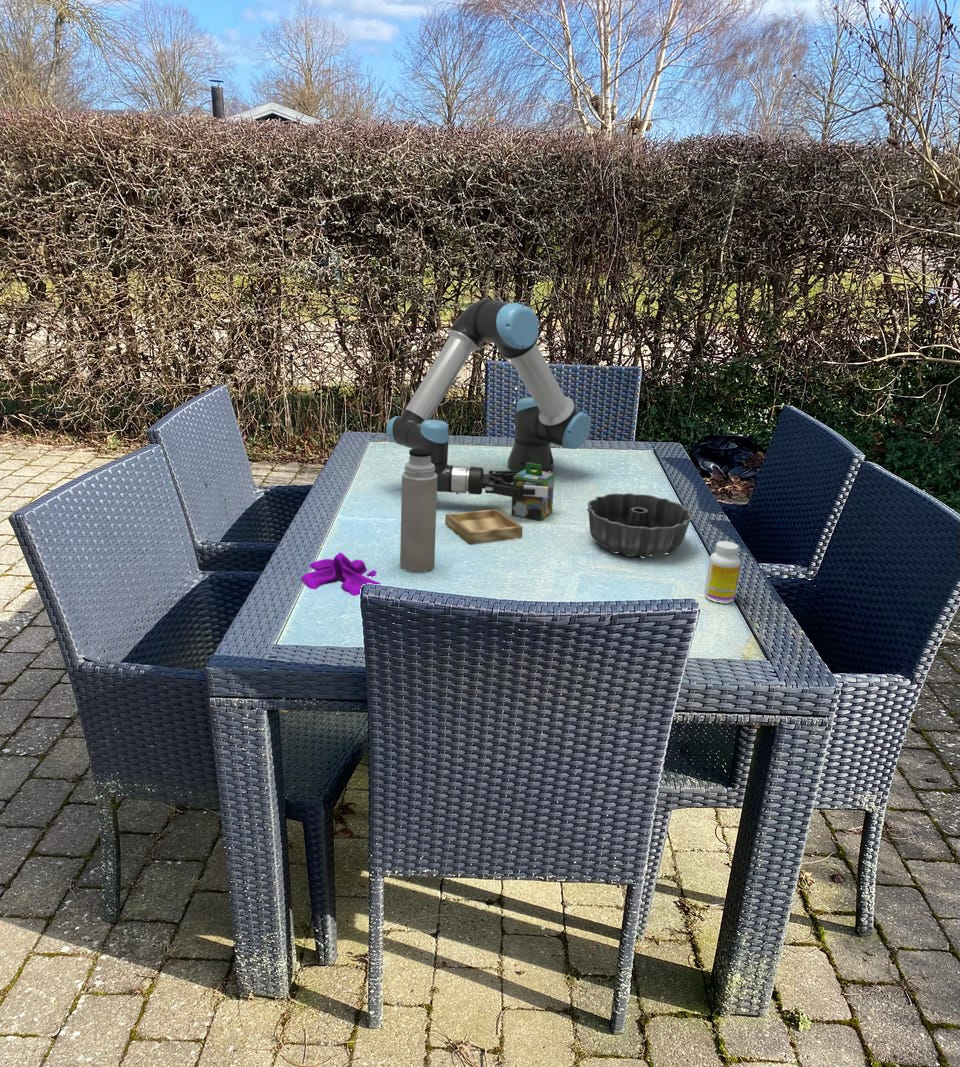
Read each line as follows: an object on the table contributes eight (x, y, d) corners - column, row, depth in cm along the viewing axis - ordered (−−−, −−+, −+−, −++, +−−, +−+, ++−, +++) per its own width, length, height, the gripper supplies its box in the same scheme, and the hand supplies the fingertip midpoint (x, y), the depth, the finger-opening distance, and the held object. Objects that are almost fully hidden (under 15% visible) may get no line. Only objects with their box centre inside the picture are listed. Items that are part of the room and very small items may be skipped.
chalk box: (552, 512, 250) (556, 461, 245) (541, 521, 242) (545, 469, 237) (522, 506, 253) (525, 456, 248) (509, 515, 245) (513, 463, 240)
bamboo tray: (495, 519, 242) (496, 508, 241) (521, 537, 229) (522, 527, 228) (445, 525, 236) (445, 514, 235) (469, 544, 223) (469, 533, 222)
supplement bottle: (738, 604, 197) (747, 550, 192) (709, 604, 196) (717, 550, 191) (728, 592, 203) (736, 539, 198) (700, 592, 202) (707, 539, 198)
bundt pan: (679, 573, 213) (684, 533, 209) (572, 554, 221) (575, 516, 217) (694, 538, 236) (699, 502, 233) (596, 522, 244) (600, 487, 241)
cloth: (377, 599, 191) (377, 573, 189) (291, 594, 192) (290, 567, 190) (391, 560, 212) (391, 536, 210) (313, 556, 213) (313, 531, 210)
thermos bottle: (408, 557, 213) (410, 443, 203) (439, 563, 211) (443, 448, 201) (394, 569, 206) (396, 451, 196) (426, 575, 204) (430, 456, 194)
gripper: (471, 480, 258) (547, 486, 257) (463, 506, 236) (546, 512, 235) (472, 455, 255) (549, 460, 254) (464, 479, 233) (548, 485, 232)
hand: (547, 485), depth 244 cm, fingers closed on chalk box, 11 cm apart
